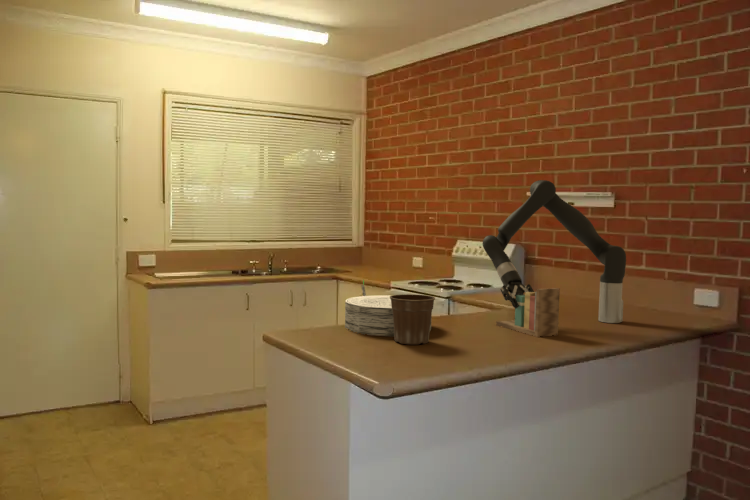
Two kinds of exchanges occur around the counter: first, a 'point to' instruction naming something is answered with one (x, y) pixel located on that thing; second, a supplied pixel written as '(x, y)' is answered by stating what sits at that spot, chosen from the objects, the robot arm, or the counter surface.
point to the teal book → (520, 311)
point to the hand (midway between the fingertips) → (525, 306)
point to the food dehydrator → (370, 314)
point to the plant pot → (412, 318)
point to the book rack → (538, 313)
